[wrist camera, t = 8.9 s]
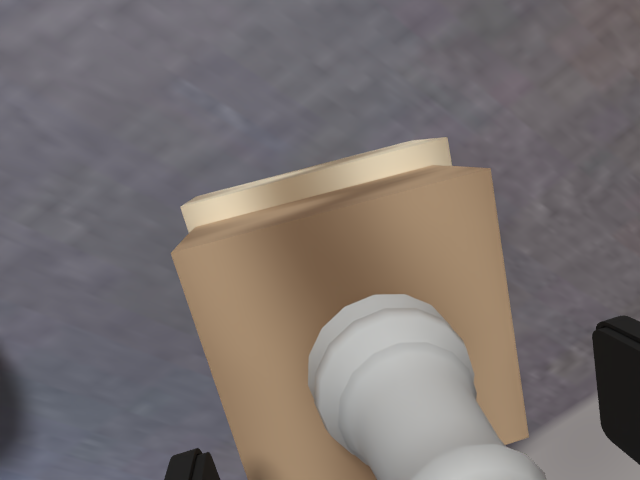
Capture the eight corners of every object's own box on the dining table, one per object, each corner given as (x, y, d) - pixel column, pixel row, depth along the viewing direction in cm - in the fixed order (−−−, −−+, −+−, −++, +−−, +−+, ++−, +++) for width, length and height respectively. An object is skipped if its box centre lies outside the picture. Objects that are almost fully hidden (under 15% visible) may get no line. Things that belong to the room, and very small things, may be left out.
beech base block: (409, 140, 19) (447, 137, 15) (445, 332, 21) (486, 371, 18) (197, 195, 18) (180, 206, 14) (259, 388, 21) (258, 443, 17)
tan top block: (432, 164, 15) (490, 168, 11) (469, 374, 17) (528, 437, 14) (195, 226, 15) (170, 253, 11) (262, 437, 17) (263, 523, 13)
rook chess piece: (407, 257, 12) (698, 461, 4) (475, 374, 13) (808, 713, 5) (275, 343, 12) (304, 719, 4) (354, 452, 13) (500, 918, 5)
